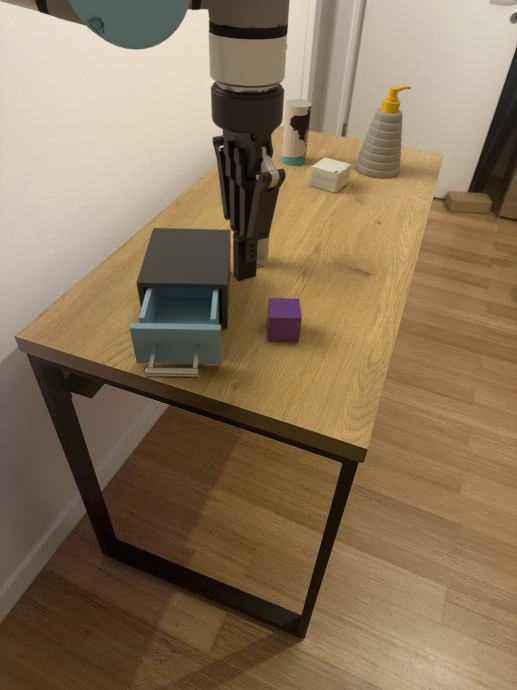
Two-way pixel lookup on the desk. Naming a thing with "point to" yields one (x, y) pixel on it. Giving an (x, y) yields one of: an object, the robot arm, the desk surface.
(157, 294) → the drawer
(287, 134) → the cup
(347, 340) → the desk surface
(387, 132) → the soap bottle
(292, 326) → the purple cube
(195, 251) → the grey square box housing
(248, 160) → the robot arm
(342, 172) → the small box
